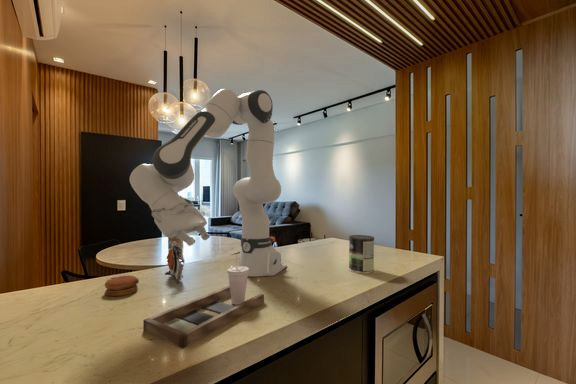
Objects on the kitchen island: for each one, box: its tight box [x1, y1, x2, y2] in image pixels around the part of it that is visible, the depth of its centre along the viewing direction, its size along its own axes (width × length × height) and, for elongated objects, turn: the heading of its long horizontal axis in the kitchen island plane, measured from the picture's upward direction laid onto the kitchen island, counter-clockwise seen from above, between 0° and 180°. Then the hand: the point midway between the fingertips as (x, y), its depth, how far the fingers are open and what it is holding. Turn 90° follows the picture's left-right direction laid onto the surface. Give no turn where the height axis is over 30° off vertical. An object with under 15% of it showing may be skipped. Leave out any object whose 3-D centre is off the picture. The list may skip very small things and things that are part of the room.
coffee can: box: [348, 234, 375, 274], centre depth 115 cm, size 10×10×14 cm
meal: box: [164, 240, 185, 284], centre depth 103 cm, size 15×4×13 cm, turn 36°
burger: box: [104, 274, 140, 297], centre depth 88 cm, size 10×9×5 cm
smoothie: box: [226, 253, 249, 305], centre depth 80 cm, size 6×6×14 cm
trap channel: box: [142, 285, 265, 349], centre depth 71 cm, size 28×14×2 cm, turn 149°
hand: (200, 241), depth 82 cm, fingers open, 8 cm apart
